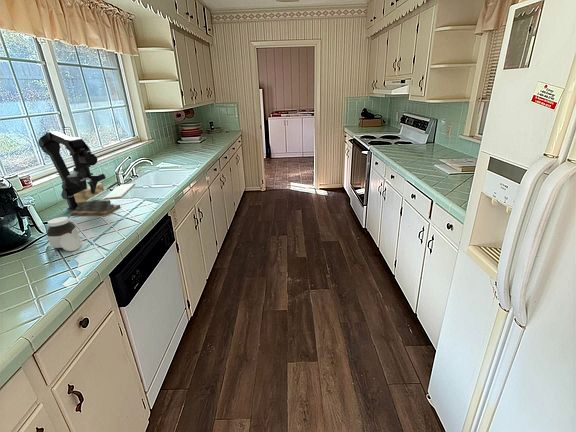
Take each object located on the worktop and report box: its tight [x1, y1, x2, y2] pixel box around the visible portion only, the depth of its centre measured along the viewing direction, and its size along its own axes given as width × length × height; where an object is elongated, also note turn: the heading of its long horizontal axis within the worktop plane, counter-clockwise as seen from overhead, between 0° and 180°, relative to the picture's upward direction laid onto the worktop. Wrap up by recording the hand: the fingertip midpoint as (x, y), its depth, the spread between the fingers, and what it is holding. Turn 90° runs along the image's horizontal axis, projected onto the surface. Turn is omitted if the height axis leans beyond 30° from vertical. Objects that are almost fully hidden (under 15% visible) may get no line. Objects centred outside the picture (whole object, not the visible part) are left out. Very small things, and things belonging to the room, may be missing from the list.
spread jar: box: [46, 216, 82, 252], centre depth 125 cm, size 12×11×12 cm
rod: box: [74, 182, 105, 203], centre depth 163 cm, size 20×4×4 cm, turn 2°
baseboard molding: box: [101, 181, 136, 200], centre depth 202 cm, size 31×3×12 cm
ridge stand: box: [69, 199, 121, 216], centre depth 167 cm, size 20×12×6 cm, turn 82°
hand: (90, 193), depth 164 cm, fingers closed on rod, 4 cm apart
